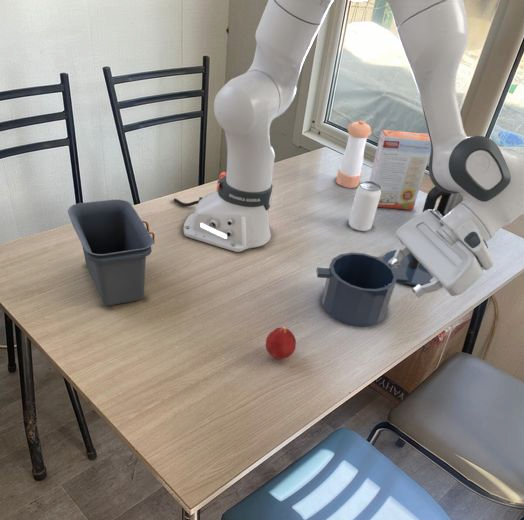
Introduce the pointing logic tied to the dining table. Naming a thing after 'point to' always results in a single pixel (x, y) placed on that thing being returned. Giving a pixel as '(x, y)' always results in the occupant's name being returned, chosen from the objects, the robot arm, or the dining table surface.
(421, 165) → the cracker box
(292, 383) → the dining table surface
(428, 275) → the lid
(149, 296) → the dining table surface
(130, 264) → the storage bin
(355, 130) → the pepper shaker
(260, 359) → the dining table surface
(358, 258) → the pot
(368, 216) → the can
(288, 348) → the onion
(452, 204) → the milk frother
